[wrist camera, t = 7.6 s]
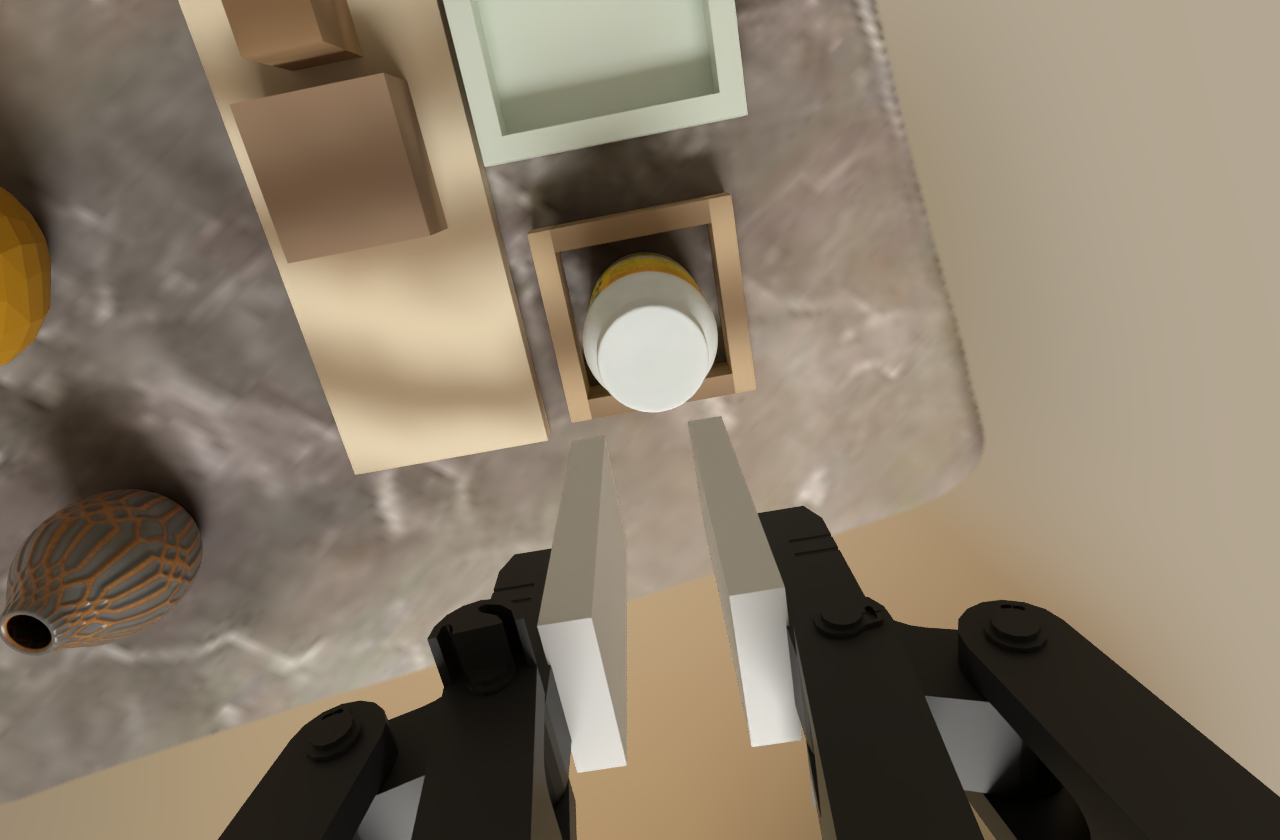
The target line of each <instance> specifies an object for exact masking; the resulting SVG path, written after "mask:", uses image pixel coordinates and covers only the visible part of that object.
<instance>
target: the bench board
mask: <svg viewBox="0 0 1280 840" xmlns="http://www.w3.org/2000/svg"><path fill="white" fill-rule="evenodd" d="M178 1H179V3H180V6H181V9H182V11H183V14H184V17H185V20H186V22H187V25H188V28H189V30H190V33H191V36H192V38H193V41H194V44H195V46H196V49H197V52H198V54H199V57H200V60H201V62H202V65H203V68H204V70H205V73H206V76H207V78H208V81H209V84H210V87H211V89H212V92H213V95H214V97H215V100H216V103H217V105H218V108H219V111H220V113H221V116H222V119H223V121H224V124H225V127H226V129H227V132H228V135H229V137H230V140H231V143H232V146H233V148H234V151H235V154H236V156H237V159H238V162H239V164H240V167H241V170H242V172H243V175H244V178H245V180H246V183H247V186H248V188H249V191H250V194H251V196H252V199H253V202H254V204H255V207H256V210H257V213H258V215H259V218H260V221H261V223H262V226H263V229H264V231H265V234H266V237H267V239H268V242H269V245H270V247H271V250H272V253H273V255H274V258H275V261H276V263H277V266H278V269H279V272H280V274H281V277H282V280H283V282H284V285H285V288H286V290H287V293H288V296H289V298H290V301H291V304H292V306H293V309H294V312H295V314H296V317H297V320H298V322H299V325H300V328H301V330H302V333H303V336H304V339H305V341H306V344H307V347H308V349H309V352H310V355H311V357H312V360H313V363H314V365H315V368H316V371H317V373H318V376H319V379H320V381H321V384H322V387H323V389H324V392H325V395H326V398H327V400H328V403H329V406H330V408H331V411H332V414H333V416H334V419H335V422H336V424H337V427H338V430H339V432H340V435H341V438H342V440H343V443H344V446H345V448H346V451H347V454H348V456H349V459H350V462H351V465H352V467H353V470H354V473H355V475H357V474H363V473H368V472H374V471H380V470H385V469H391V468H396V467H402V466H408V465H413V464H419V463H424V462H430V461H436V460H441V459H447V458H452V457H458V456H463V455H469V454H475V453H480V452H486V451H491V450H497V449H503V448H508V447H514V446H519V445H525V444H531V443H536V442H542V441H547V440H548V438H549V434H550V428H549V424H548V420H547V416H546V412H545V408H544V404H543V400H542V396H541V392H540V388H539V384H538V380H537V376H536V372H535V368H534V364H533V360H532V356H531V352H530V348H529V344H528V340H527V336H526V332H525V328H524V324H523V320H522V316H521V312H520V308H519V304H518V300H517V296H516V292H515V288H514V284H513V280H512V276H511V272H510V268H509V264H508V260H507V256H506V252H505V248H504V244H503V240H502V236H501V232H500V228H499V224H498V220H497V216H496V213H495V209H494V205H493V201H492V197H491V193H490V189H489V185H488V181H487V177H486V173H485V169H484V165H483V161H482V157H481V153H480V149H479V145H478V141H477V137H476V133H475V129H474V125H473V121H472V117H471V113H470V109H469V105H468V101H467V97H466V93H465V89H464V85H463V81H462V77H461V73H460V69H459V65H458V61H457V57H456V53H455V49H454V45H453V41H452V37H451V33H450V29H449V25H448V21H447V17H446V13H445V9H444V5H443V1H442V0H178ZM379 73H386V74H389V75H391V76H394V77H397V78H400V79H403V80H406V81H407V82H408V86H409V89H410V93H411V97H412V100H413V104H414V107H415V111H416V115H417V118H418V122H419V125H420V129H421V133H422V136H423V140H424V143H425V147H426V151H427V154H428V158H429V161H430V165H431V169H432V172H433V176H434V179H435V183H436V187H437V190H438V194H439V197H440V201H441V205H442V208H443V212H444V215H445V219H446V223H447V226H448V229H445V230H443V231H440V232H438V233H436V234H433V235H431V236H427V237H421V238H416V239H411V240H406V241H401V242H396V243H391V244H386V245H380V246H375V247H370V248H365V249H360V250H355V251H350V252H345V253H339V254H334V255H329V256H324V257H319V258H314V259H309V260H303V261H298V262H293V263H287V260H286V257H285V255H284V252H283V249H282V247H281V244H280V241H279V238H278V236H277V233H276V230H275V227H274V225H273V222H272V219H271V217H270V214H269V211H268V208H267V206H266V203H265V200H264V198H263V195H262V192H261V189H260V187H259V184H258V181H257V179H256V176H255V173H254V170H253V168H252V165H251V162H250V160H249V157H248V154H247V151H246V149H245V146H244V143H243V140H242V138H241V135H240V132H239V130H238V127H237V124H236V121H235V119H234V116H233V113H232V111H231V108H230V105H229V104H234V103H239V102H244V101H249V100H254V99H259V98H263V97H268V96H273V95H278V94H283V93H288V92H292V91H297V90H302V89H307V88H312V87H317V86H321V85H326V84H331V83H336V82H341V81H346V80H350V79H355V78H360V77H365V76H370V75H375V74H379Z"/></svg>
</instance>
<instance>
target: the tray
mask: <svg viewBox="0 0 1280 840" xmlns="http://www.w3.org/2000/svg"><path fill="white" fill-rule="evenodd" d="M443 2H444V6H445V10H446V14H447V18H448V22H449V26H450V30H451V34H452V38H453V42H454V46H455V50H456V54H457V58H458V62H459V66H460V70H461V74H462V78H463V82H464V86H465V90H466V94H467V98H468V102H469V106H470V110H471V114H472V118H473V122H474V126H475V130H476V134H477V138H478V142H479V146H480V150H481V154H482V158H483V162H484V166H485V167H486V166H496V165H501V164H507V163H512V162H517V161H522V160H527V159H532V158H537V157H542V156H547V155H552V154H557V153H562V152H567V151H572V150H577V149H582V148H587V147H592V146H597V145H602V144H608V143H613V142H618V141H623V140H628V139H633V138H638V137H643V136H648V135H653V134H658V133H663V132H668V131H673V130H678V129H683V128H688V127H693V126H698V125H703V124H708V123H714V122H719V121H724V120H729V119H734V118H738V117H742V116H745V115H748V114H747V105H746V96H745V88H744V79H743V70H742V61H741V53H740V44H739V35H738V27H737V18H736V9H735V0H443Z"/></svg>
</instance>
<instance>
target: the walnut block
mask: <svg viewBox="0 0 1280 840" xmlns="http://www.w3.org/2000/svg"><path fill="white" fill-rule="evenodd" d="M229 105H230V108H231V111H232V113H233V116H234V119H235V121H236V124H237V127H238V130H239V132H240V135H241V138H242V140H243V143H244V146H245V149H246V151H247V154H248V157H249V160H250V162H251V165H252V168H253V170H254V173H255V176H256V179H257V181H258V184H259V187H260V189H261V192H262V195H263V198H264V200H265V203H266V206H267V208H268V211H269V214H270V217H271V219H272V222H273V225H274V227H275V230H276V233H277V236H278V238H279V241H280V244H281V247H282V249H283V252H284V255H285V257H286V260H287V263H293V262H298V261H303V260H309V259H314V258H319V257H324V256H329V255H334V254H339V253H345V252H350V251H355V250H360V249H365V248H370V247H375V246H380V245H386V244H391V243H396V242H401V241H406V240H411V239H416V238H421V237H427V236H431V235H433V234H436V233H438V232H440V231H443V230H445V229H448V226H447V223H446V219H445V215H444V212H443V208H442V205H441V201H440V197H439V194H438V190H437V187H436V183H435V179H434V176H433V172H432V169H431V165H430V161H429V158H428V154H427V151H426V147H425V143H424V140H423V136H422V133H421V129H420V125H419V122H418V118H417V115H416V111H415V107H414V104H413V100H412V97H411V93H410V89H409V86H408V82H407V81H406V80H403V79H400V78H397V77H394V76H391V75H389V74H386V73H379V74H375V75H370V76H365V77H360V78H355V79H350V80H346V81H341V82H336V83H331V84H326V85H321V86H317V87H312V88H307V89H302V90H297V91H292V92H288V93H283V94H278V95H273V96H268V97H263V98H259V99H254V100H249V101H244V102H239V103H234V104H229Z"/></svg>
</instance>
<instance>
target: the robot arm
mask: <svg viewBox="0 0 1280 840" xmlns="http://www.w3.org/2000/svg"><path fill="white" fill-rule="evenodd" d="M688 427H689V433H690V439H691V446H692V452H693V458H694V464H695V471H696V477H697V483H698V490H699V496H700V502H701V509H702V515H703V521H704V527H705V532H706V537H707V541H708V546H709V550H710V555H711V560H712V564H713V569H714V574H715V578H716V583H717V588H718V592H719V597H720V601H721V606H722V611H723V615H724V620H725V624H726V629H727V634H728V639H729V643H730V648H731V653H732V657H733V662H734V667H735V671H736V676H737V680H738V685H739V690H740V694H741V699H742V704H743V708H744V713H745V718H746V722H747V726H748V732H749V736H750V741H751V746H752V747H756V746H763V745H769V744H776V743H783V742H790V741H797V740H802V733H801V725H802V728H803V731H804V735H805V738H806V742H807V752H808V760H809V769H810V778H811V786H812V796H813V805H814V806H816V807H817V812H818V817H819V823H820V829H821V834H822V840H984V838H983V835H982V833H981V831H980V828H979V825H978V823H977V821H976V818H975V816H974V813H973V811H972V809H971V806H970V804H969V802H970V803H971V805H972V806H973V808H974V809H975V810H976V812H977V813H978V815H979V816H980V818H981V819H982V820H983V822H984V823H985V825H986V826H987V827H988V829H989V830H990V831H991V833H992V834H993V836H994V837H995V838H996V840H1280V797H1279V796H1278V795H1277V794H1275V793H1274V792H1273V791H1272V790H1271V789H1269V788H1268V787H1267V786H1266V785H1264V784H1263V783H1262V782H1261V781H1260V780H1258V779H1257V778H1256V777H1255V776H1253V775H1252V774H1251V773H1250V772H1248V771H1247V770H1246V769H1245V768H1244V767H1242V766H1241V765H1240V764H1239V763H1237V762H1236V761H1235V760H1234V759H1233V758H1231V757H1230V756H1229V755H1228V754H1226V753H1225V752H1224V751H1223V750H1222V749H1220V748H1219V747H1218V746H1217V745H1215V744H1214V743H1213V742H1212V741H1211V740H1209V739H1208V738H1207V737H1206V736H1204V735H1203V734H1202V733H1201V732H1200V731H1198V730H1197V729H1196V728H1194V727H1193V726H1192V725H1191V724H1190V723H1189V722H1187V721H1186V720H1185V719H1184V718H1182V717H1181V716H1180V715H1179V714H1178V713H1176V712H1175V711H1174V710H1173V709H1171V708H1170V707H1169V706H1168V705H1166V704H1165V703H1164V702H1163V701H1162V700H1160V699H1159V698H1158V697H1157V696H1155V695H1154V694H1153V693H1152V692H1151V691H1149V690H1148V689H1147V688H1146V687H1144V686H1143V685H1142V684H1141V683H1140V682H1138V681H1137V680H1136V679H1135V678H1134V677H1132V676H1131V675H1130V674H1128V673H1127V672H1126V671H1125V670H1124V669H1122V668H1121V667H1120V666H1119V665H1117V664H1116V663H1115V662H1114V661H1113V660H1111V659H1110V658H1109V657H1108V656H1107V655H1105V654H1104V653H1103V652H1102V651H1100V650H1099V649H1098V648H1097V647H1096V646H1094V645H1093V644H1092V643H1091V642H1089V641H1088V640H1087V639H1086V638H1085V637H1083V636H1082V635H1081V634H1079V633H1078V632H1077V631H1076V630H1075V629H1073V628H1072V627H1071V626H1070V625H1069V624H1067V623H1066V622H1065V621H1064V620H1062V619H1061V618H1059V617H1057V616H1056V615H1054V614H1052V613H1051V612H1049V611H1047V610H1046V609H1043V608H1040V607H1037V606H1034V605H1031V604H1028V603H1025V602H1017V601H1007V600H998V601H990V602H982V603H979V604H978V605H975V606H973V607H970V608H968V609H967V610H966V611H965V612H964V613H963V615H962V616H961V617H960V618H959V621H958V622H959V623H958V630H953V629H939V628H925V627H918V626H911V625H907V624H904V623H901V622H897V621H894V620H893V619H892V617H891V615H890V614H889V613H888V611H887V610H886V609H885V607H884V606H883V605H881V604H879V603H878V602H876V601H874V600H872V599H871V598H869V597H865V596H864V594H863V592H862V590H861V588H860V587H859V585H858V583H857V581H856V579H855V577H854V576H853V574H852V572H851V570H850V568H849V567H848V565H847V563H846V561H845V559H844V557H843V555H842V554H841V552H840V550H838V546H837V545H836V543H835V541H834V539H833V537H831V534H830V532H829V530H828V528H827V526H826V524H825V523H824V521H823V519H822V518H821V517H820V516H818V515H817V514H815V513H814V512H812V511H810V510H809V509H807V508H806V507H804V506H800V507H793V508H787V509H781V510H775V511H769V512H763V513H757V511H756V508H755V506H754V503H753V500H752V498H751V495H750V492H749V490H748V487H747V484H746V482H745V479H744V476H743V474H742V471H741V468H740V466H739V463H738V460H737V458H736V455H735V452H734V450H733V447H732V444H731V441H730V439H729V436H728V433H727V431H726V428H725V425H724V423H723V420H722V417H721V416H719V417H713V418H707V419H701V420H695V421H689V422H688ZM626 608H627V607H626V535H625V530H624V525H623V521H622V516H621V511H620V506H619V501H618V496H617V492H616V487H615V482H614V477H613V472H612V467H611V463H610V458H609V453H608V448H607V443H606V438H605V436H600V437H594V438H588V439H582V440H576V441H572V444H571V450H570V455H569V460H568V466H567V471H566V476H565V481H564V487H563V492H562V497H561V503H560V508H559V513H558V518H557V524H556V529H555V534H554V540H553V545H552V549H546V550H540V551H533V552H527V553H521V554H515V555H514V556H513V557H512V558H511V559H510V560H509V561H508V563H507V564H506V565H505V566H504V567H503V568H502V569H501V570H500V571H499V574H498V578H497V581H496V584H495V587H494V593H493V594H492V597H491V599H489V600H480V601H477V602H474V603H471V604H468V605H465V606H462V607H460V608H459V609H457V610H455V611H453V612H452V613H450V614H448V615H447V616H445V617H444V618H443V619H442V620H441V621H440V622H439V623H438V624H437V625H436V626H435V627H434V628H433V630H432V632H431V634H430V635H429V637H428V642H429V645H430V648H431V651H432V654H433V657H434V660H435V662H436V665H437V668H438V671H439V674H440V676H441V679H442V682H443V685H444V689H443V694H442V697H440V698H439V699H437V700H436V701H433V702H431V703H430V704H427V705H425V706H423V707H421V708H418V709H416V710H413V711H411V712H408V713H405V714H403V715H400V716H398V717H395V718H393V719H391V720H388V719H387V716H386V714H385V711H384V710H383V709H382V708H381V707H380V706H378V705H377V704H376V703H374V702H366V701H356V702H351V703H346V704H341V705H339V706H337V707H334V708H332V709H330V710H327V711H325V712H323V713H321V714H320V715H319V716H317V717H316V718H314V719H313V720H311V721H310V722H308V723H307V724H306V725H304V726H303V727H302V728H301V730H300V731H299V732H298V733H297V734H296V735H295V736H294V737H293V738H292V739H291V740H290V742H289V743H288V744H287V746H286V747H285V748H284V750H283V751H282V752H281V754H280V755H279V757H278V758H277V759H276V761H275V762H274V763H273V765H272V766H271V768H270V769H269V770H268V772H267V773H266V774H265V776H264V777H263V778H262V780H261V781H260V783H259V784H258V785H257V787H256V788H255V789H254V791H253V792H252V793H251V795H250V796H249V798H248V799H247V800H246V802H245V803H244V804H243V806H242V807H241V809H240V810H239V811H238V813H237V814H236V816H235V817H234V818H233V820H232V821H231V822H230V824H229V825H228V826H227V828H226V829H225V831H224V832H223V833H222V835H221V836H220V837H219V839H218V840H577V835H576V804H575V798H574V794H573V791H572V787H571V784H570V780H569V777H568V775H569V765H570V753H571V751H572V754H573V758H574V761H575V765H576V768H577V772H578V773H579V772H586V771H593V770H599V769H605V768H613V767H619V766H626V765H627V635H626V634H627V631H626V630H627V625H626V624H627V623H626V622H627V617H626V616H627V615H626V614H627V613H626V612H627V609H626ZM800 722H801V724H800Z"/></svg>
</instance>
